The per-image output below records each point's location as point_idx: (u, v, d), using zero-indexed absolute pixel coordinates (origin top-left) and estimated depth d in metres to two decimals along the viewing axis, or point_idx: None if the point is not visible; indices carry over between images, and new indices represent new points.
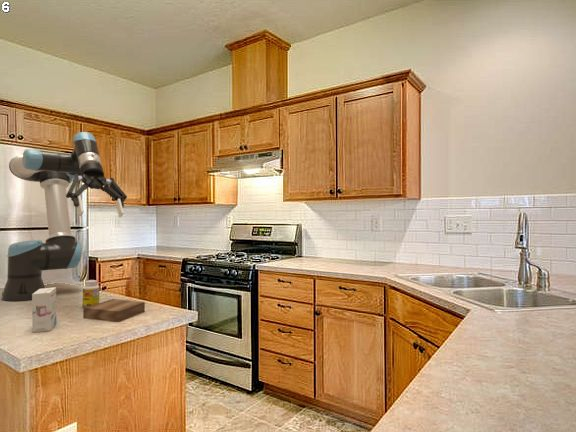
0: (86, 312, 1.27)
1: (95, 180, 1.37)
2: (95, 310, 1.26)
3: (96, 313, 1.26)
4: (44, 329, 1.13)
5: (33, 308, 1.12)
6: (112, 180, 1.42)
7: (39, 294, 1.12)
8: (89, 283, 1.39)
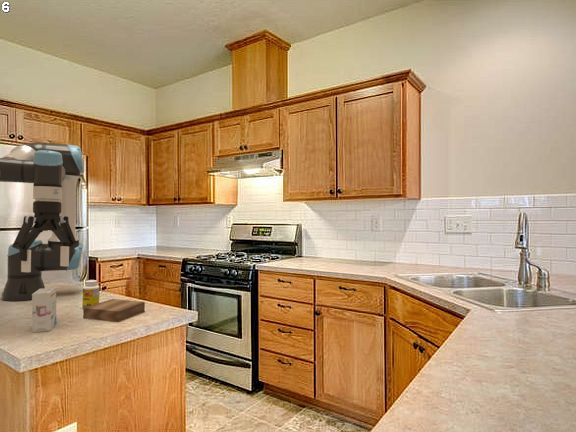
0: (86, 312, 1.27)
1: (49, 223, 1.16)
2: (95, 310, 1.26)
3: (96, 313, 1.26)
4: (44, 329, 1.13)
5: (33, 308, 1.12)
6: (66, 220, 1.22)
7: (39, 294, 1.12)
8: (89, 283, 1.39)
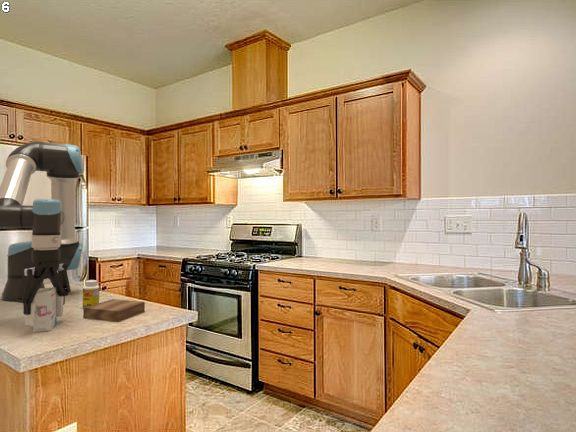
0: (86, 312, 1.27)
1: None
2: (95, 310, 1.26)
3: (96, 312, 1.26)
4: (44, 329, 1.13)
5: None
6: (65, 268, 1.22)
7: (39, 294, 1.13)
8: (89, 283, 1.39)
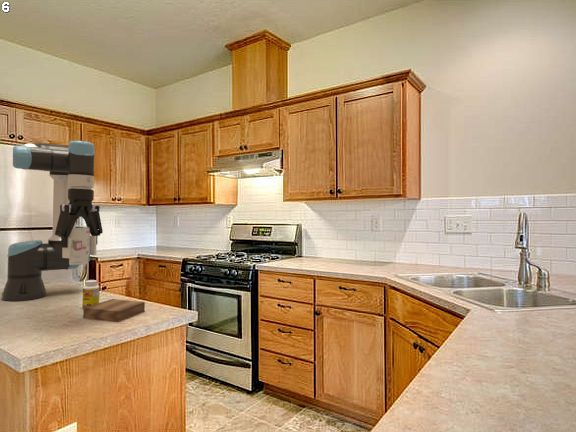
0: (86, 312, 1.27)
1: (83, 209, 1.23)
2: (95, 310, 1.26)
3: (96, 313, 1.26)
4: (80, 262, 1.20)
5: None
6: (97, 209, 1.29)
7: (75, 229, 1.20)
8: (89, 283, 1.39)
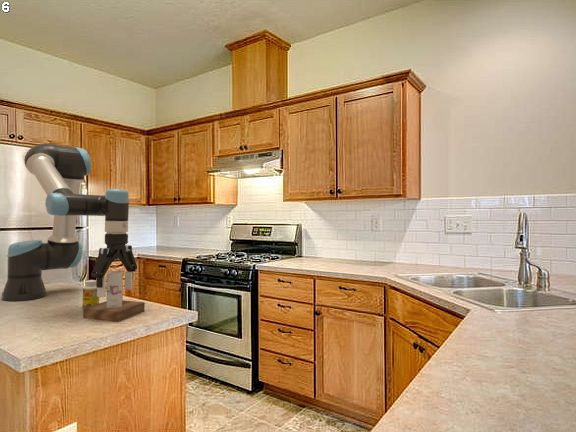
0: (86, 313, 1.27)
1: None
2: (95, 310, 1.26)
3: (96, 313, 1.26)
4: (116, 306, 1.29)
5: (107, 287, 1.28)
6: (130, 249, 1.38)
7: (112, 275, 1.28)
8: (89, 283, 1.39)
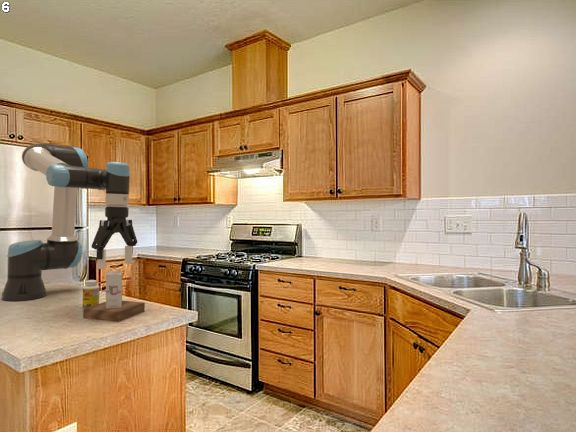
0: (86, 313, 1.27)
1: (119, 226, 1.32)
2: (95, 311, 1.26)
3: (96, 313, 1.26)
4: (116, 306, 1.29)
5: (107, 287, 1.28)
6: (131, 223, 1.38)
7: (112, 275, 1.28)
8: (89, 283, 1.39)
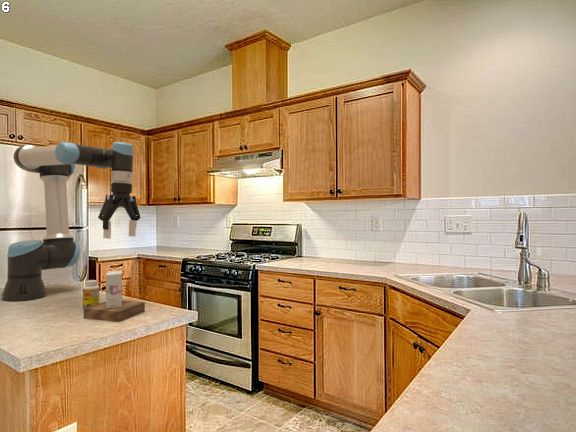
0: (86, 313, 1.27)
1: (123, 200, 1.45)
2: (95, 311, 1.26)
3: (97, 313, 1.26)
4: (116, 306, 1.29)
5: (107, 287, 1.28)
6: (134, 199, 1.51)
7: (112, 275, 1.28)
8: (89, 283, 1.39)
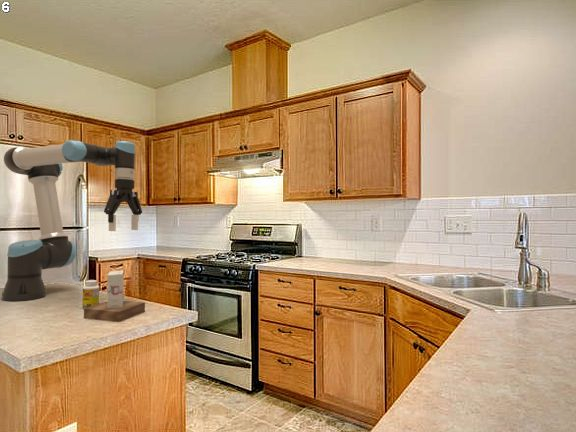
0: (86, 313, 1.27)
1: None
2: (96, 311, 1.26)
3: (97, 313, 1.26)
4: (117, 306, 1.29)
5: (108, 287, 1.28)
6: (136, 195, 1.61)
7: (113, 275, 1.29)
8: (89, 283, 1.39)
